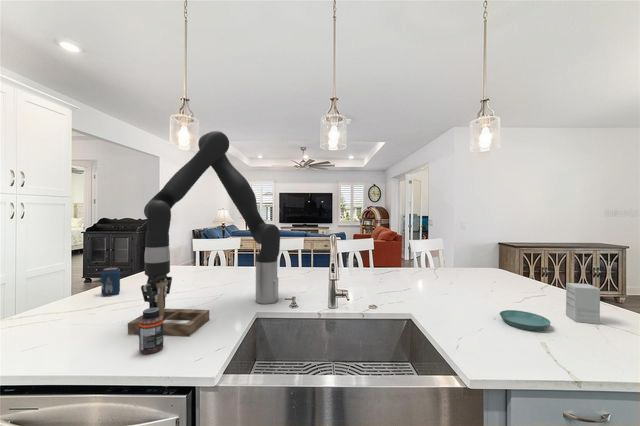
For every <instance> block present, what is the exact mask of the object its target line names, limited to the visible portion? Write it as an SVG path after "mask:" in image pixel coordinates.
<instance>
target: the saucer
mask: <svg viewBox="0 0 640 426" xmlns="http://www.w3.org/2000/svg"><path fill="white" fill-rule="evenodd" d="M498 313H499V316H500V317H501V319H502V320H503V321H504V322H505V323H507V324H508V325H509V326H512V327H513V328H518V329H522V330H524V331H525V330H526V331H542V330H544V329H546V328H547V327H549V326H550V324H551V321H550V319H549V318H546V317H544V316H542V315H540V314H537V313H534V312H529V311H523V310H516V309H515V310H514V309H513V310H512V309H507V310H505V309H504V310H502V311H500V312H498Z"/></svg>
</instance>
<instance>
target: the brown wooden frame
mask: <svg viewBox="0 0 640 426" xmlns="http://www.w3.org/2000/svg"><path fill="white" fill-rule="evenodd" d="M141 318H143V314H141V315H140V316H138V317H137V318H134V319H132V320H131V321H129V322H127V335H138V336H139V321H140V319H141ZM208 321H210V309H198V308H197V309H196V308H195V309H194V308H192V309H191V308H189V309H188V308H164V319H163V336H168V337H171V336H172V337H191V336H192V335H193V334H194V333H195V332H197V331H198V330H199V329H200V328H201V327H203V326H204V325H205V324H206V323H207V322H208ZM196 330H197V331H196ZM190 335H191V336H190Z"/></svg>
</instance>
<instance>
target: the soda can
mask: <svg viewBox="0 0 640 426" xmlns="http://www.w3.org/2000/svg"><path fill="white" fill-rule="evenodd" d="M100 275H101V276H100V277H101V278H100V279H101V285H100V286H101V288H100V289H101V291H100V292H101V295H102V296H103V297H115V296H117V295H119V293H120V292H121V271H120V269H119V267H118V266H117V267H116V266H115V267H105V268H103V269H102V271H101V273H100Z"/></svg>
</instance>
